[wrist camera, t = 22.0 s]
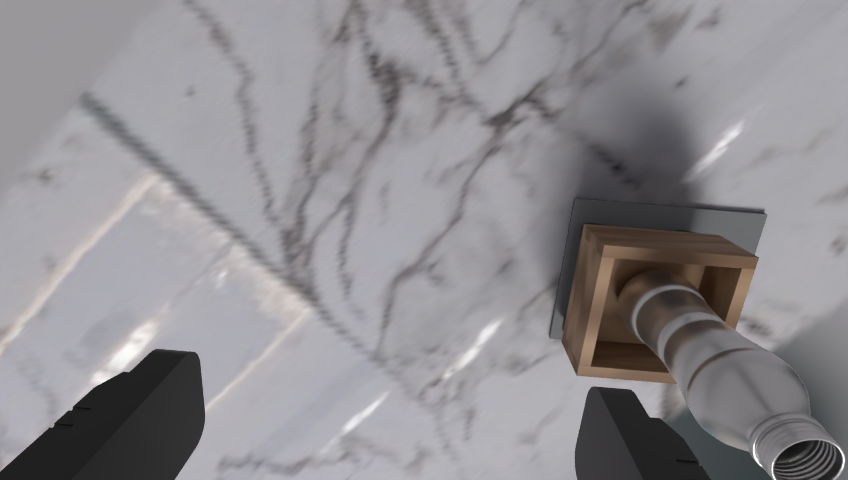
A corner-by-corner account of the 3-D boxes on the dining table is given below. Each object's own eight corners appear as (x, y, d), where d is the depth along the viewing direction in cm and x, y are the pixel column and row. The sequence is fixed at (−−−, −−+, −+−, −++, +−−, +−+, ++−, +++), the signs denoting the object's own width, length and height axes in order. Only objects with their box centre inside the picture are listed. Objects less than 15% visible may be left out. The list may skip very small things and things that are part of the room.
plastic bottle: (634, 250, 42) (790, 394, 23) (700, 278, 42) (907, 441, 23) (597, 310, 44) (713, 488, 25) (662, 336, 44) (823, 529, 25)
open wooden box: (575, 215, 45) (604, 245, 37) (702, 225, 45) (758, 257, 37) (554, 326, 49) (576, 375, 41) (671, 336, 49) (716, 387, 41)
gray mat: (574, 198, 45) (575, 199, 44) (764, 213, 45) (767, 214, 44) (549, 336, 50) (549, 338, 49) (720, 350, 50) (722, 352, 49)
